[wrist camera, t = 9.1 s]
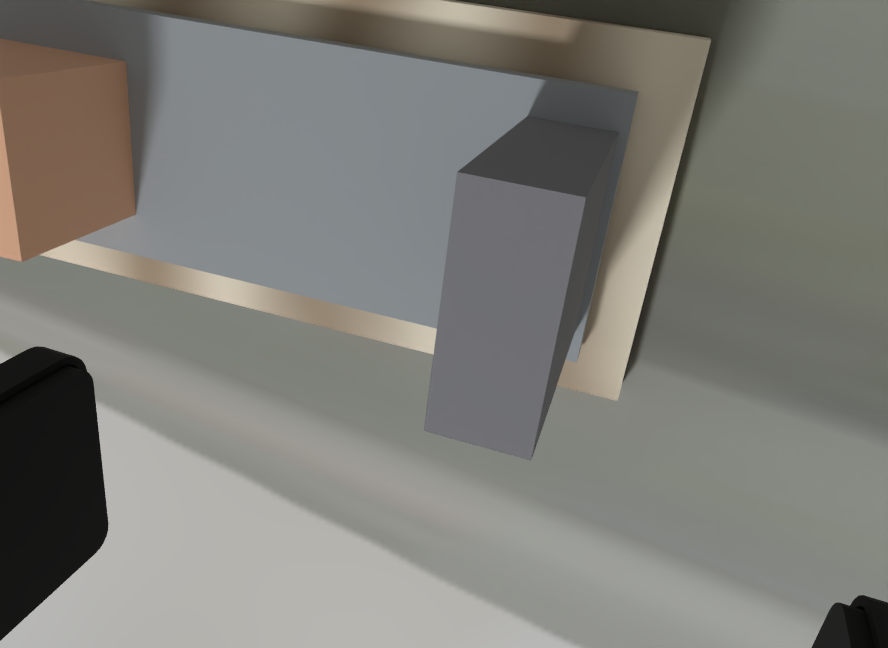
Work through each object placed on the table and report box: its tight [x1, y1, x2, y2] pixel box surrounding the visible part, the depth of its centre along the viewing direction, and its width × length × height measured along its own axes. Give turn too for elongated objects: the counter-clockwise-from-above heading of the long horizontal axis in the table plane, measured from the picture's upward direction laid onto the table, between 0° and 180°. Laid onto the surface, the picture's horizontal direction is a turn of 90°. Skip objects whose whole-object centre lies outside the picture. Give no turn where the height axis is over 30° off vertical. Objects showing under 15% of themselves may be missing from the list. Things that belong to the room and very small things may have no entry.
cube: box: [0, 38, 136, 262], centre depth 23 cm, size 5×5×5 cm
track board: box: [40, 0, 711, 401], centre depth 26 cm, size 33×11×1 cm, turn 83°
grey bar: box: [0, 0, 639, 460], centre depth 21 cm, size 22×8×8 cm, turn 83°
